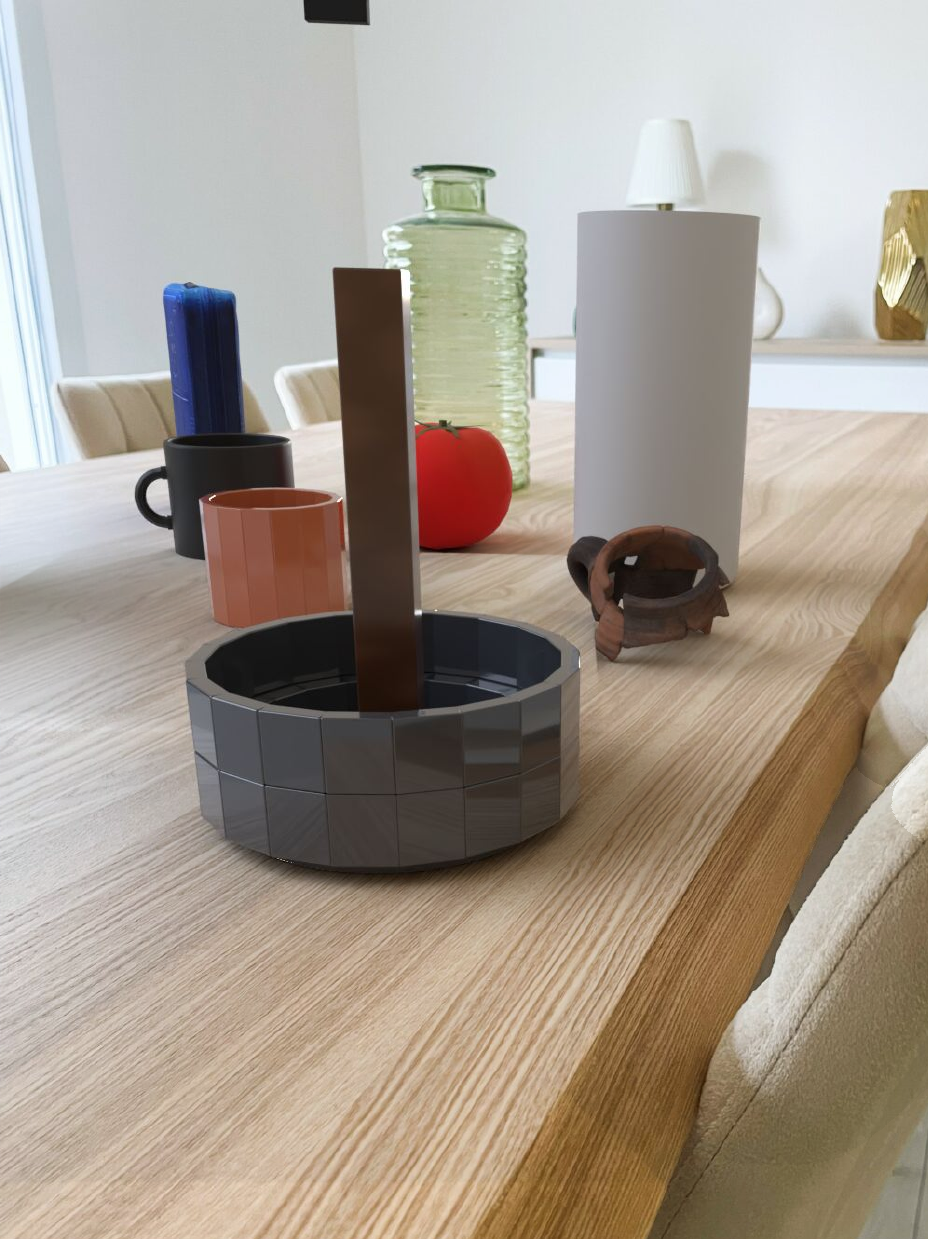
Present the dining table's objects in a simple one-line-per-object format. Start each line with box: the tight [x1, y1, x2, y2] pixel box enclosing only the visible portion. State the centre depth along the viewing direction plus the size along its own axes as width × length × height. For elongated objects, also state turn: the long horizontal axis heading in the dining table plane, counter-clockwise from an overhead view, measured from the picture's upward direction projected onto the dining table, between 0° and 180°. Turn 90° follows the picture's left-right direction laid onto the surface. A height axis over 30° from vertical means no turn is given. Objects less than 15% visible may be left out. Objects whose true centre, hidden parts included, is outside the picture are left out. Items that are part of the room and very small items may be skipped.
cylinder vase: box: [572, 209, 762, 590], centre depth 87 cm, size 12×12×25 cm
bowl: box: [183, 608, 582, 875], centre depth 50 cm, size 16×16×6 cm
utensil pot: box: [199, 487, 350, 629], centre depth 76 cm, size 8×8×8 cm
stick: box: [331, 266, 425, 712], centre depth 47 cm, size 2×2×20 cm
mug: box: [134, 432, 296, 561], centre depth 94 cm, size 9×12×9 cm
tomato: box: [415, 419, 514, 550], centre depth 101 cm, size 12×12×10 cm
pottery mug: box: [566, 525, 731, 662], centre depth 75 cm, size 12×10×8 cm
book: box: [162, 281, 247, 437], centre depth 111 cm, size 14×5×20 cm, turn 25°
